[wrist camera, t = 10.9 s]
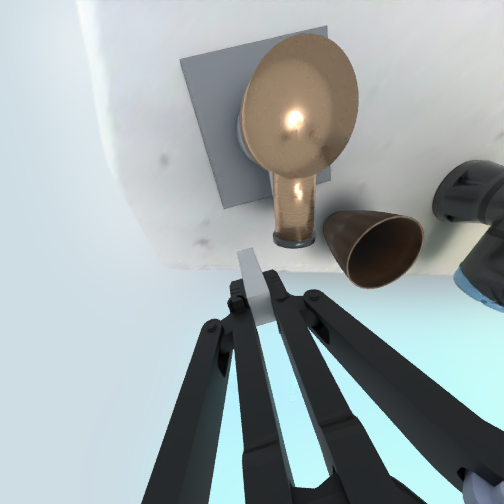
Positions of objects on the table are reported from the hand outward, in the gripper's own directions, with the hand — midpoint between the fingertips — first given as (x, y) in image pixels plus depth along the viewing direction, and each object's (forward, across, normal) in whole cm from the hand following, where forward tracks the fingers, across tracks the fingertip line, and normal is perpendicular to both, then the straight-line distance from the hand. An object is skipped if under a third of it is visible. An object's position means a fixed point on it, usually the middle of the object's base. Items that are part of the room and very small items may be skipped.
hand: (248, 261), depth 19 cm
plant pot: (+27, +24, -13) cm, 38 cm away
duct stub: (+26, +10, +9) cm, 30 cm away
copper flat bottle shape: (+15, +10, +6) cm, 19 cm away
